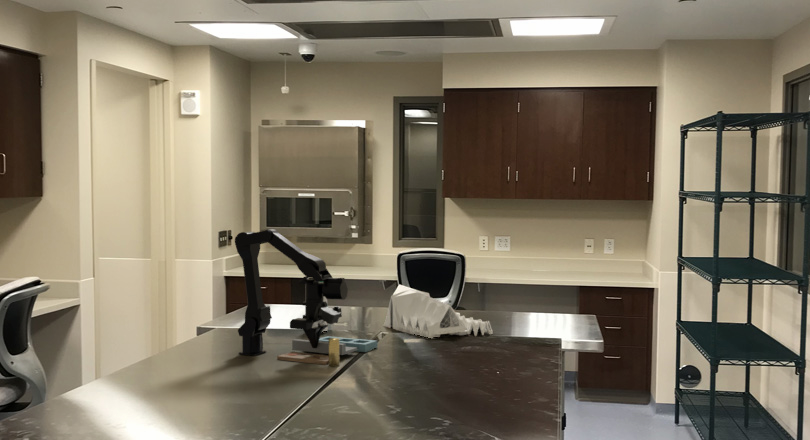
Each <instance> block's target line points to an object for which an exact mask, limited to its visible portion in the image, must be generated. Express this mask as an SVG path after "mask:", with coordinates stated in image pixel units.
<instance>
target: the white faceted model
mask: <svg viewBox="0 0 810 440" xmlns="http://www.w3.org/2000/svg"><path fill="white" fill-rule="evenodd" d="M389 299H390V300H389V304H388V307H387V308H388V309H387V312H386V315H385V321H384V323H383V327H386V328H390V329H391V327H392V329H393V330H396V331H399V332H403V333H406V334H410V335H414V334H415V335H414V336H417V335H420V336H424V337H428V338H431V339H434V338H433V337H440V338H441V335H445V334H446V335H447V334H449V336H452V335H457V336H464V335H471V333H472V331H473V334H474V337H477V336H478V332H479V333H481V336H485V333H488V335H493V334H494V333H493V331H494V329H492V326H491V322H490V320H486V321H483V320H482V319H481V318H478V319H474V317H473V316H470V317H467V318H466V316H465V315H461V313H460V312H456V311H455V309H454V308H453V306H451V304H447V303H445V302H442V301H440V300H438V299H436V298H433V297H431V296H430V293H429V292H426V291H421V290H418V289H415V288H411V287H409V286H406V285H402V284H400V283H399V284H398V286H397V287H396V289H395V291H394V292H393V294H391V296H390V298H389ZM420 336H419V337H420ZM424 337H423V338H424ZM428 338H427V339H428Z"/></svg>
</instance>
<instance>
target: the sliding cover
mask: <svg viewBox="0 0 810 440" xmlns="http://www.w3.org/2000/svg"><path fill="white" fill-rule="evenodd" d="M291 342H292V343H291V347H292V349H291V350H292V351H296V352H306V353H307V352H308V353H316V354H318V353H319V354H326V355H327V354H328V355H329V342H321V341H319V342H318V345H317V348H312V346H311V344H310V341H309V339H307V340H306V339H301V338H300V339H299V338H294V339H292V341H291ZM356 350H357V348H356V347H346V344H343V343H339V356H343V355H347V354H349V353H352V352H357V351H356Z"/></svg>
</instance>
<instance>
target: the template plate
mask: <svg viewBox="0 0 810 440" xmlns="http://www.w3.org/2000/svg"><path fill="white" fill-rule="evenodd" d="M276 358H277V359H276V360H280V361H281V360H282V361H288V362H289V361H291V362H300V363H306V364H307V363H308V364H317V365H324V366H326V365H329V354H328V355H327V354H321V353H319V354H318V353H311V352H308V353H307V352H302V351H290V352H287V353H283V354H279V355H277V356H276ZM340 360H341V356H339V361H340Z"/></svg>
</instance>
